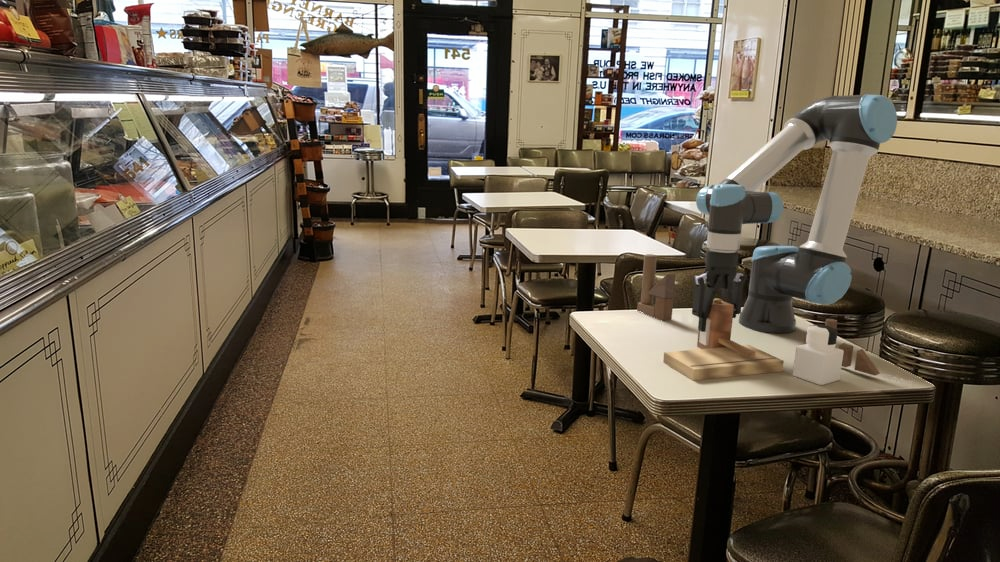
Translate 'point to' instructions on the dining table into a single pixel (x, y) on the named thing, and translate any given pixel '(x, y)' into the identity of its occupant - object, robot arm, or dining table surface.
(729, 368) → the board
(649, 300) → the wooden post assembly
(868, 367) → the wood blocks
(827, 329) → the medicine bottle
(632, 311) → the dining table surface
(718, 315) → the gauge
